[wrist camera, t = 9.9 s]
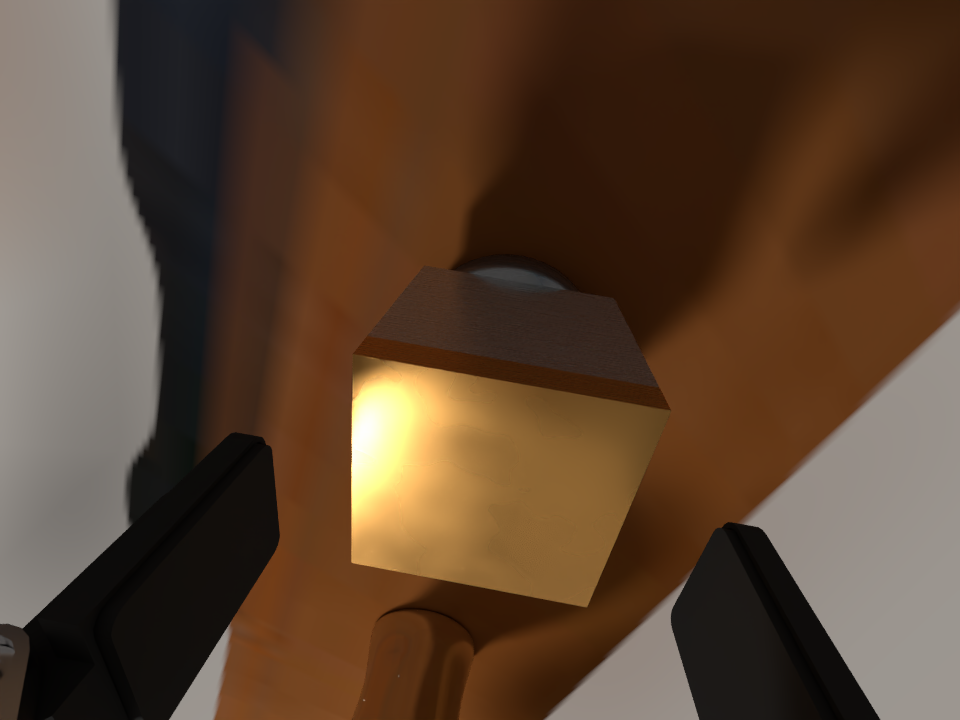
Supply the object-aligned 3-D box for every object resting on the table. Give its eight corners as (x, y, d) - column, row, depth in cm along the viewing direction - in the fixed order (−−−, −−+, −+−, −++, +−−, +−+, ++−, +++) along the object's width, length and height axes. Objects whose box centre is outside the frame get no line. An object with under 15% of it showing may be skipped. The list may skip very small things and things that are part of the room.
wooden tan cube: (614, 298, 13) (671, 411, 8) (567, 448, 16) (586, 607, 10) (424, 265, 13) (352, 354, 8) (411, 419, 16) (351, 562, 11)
